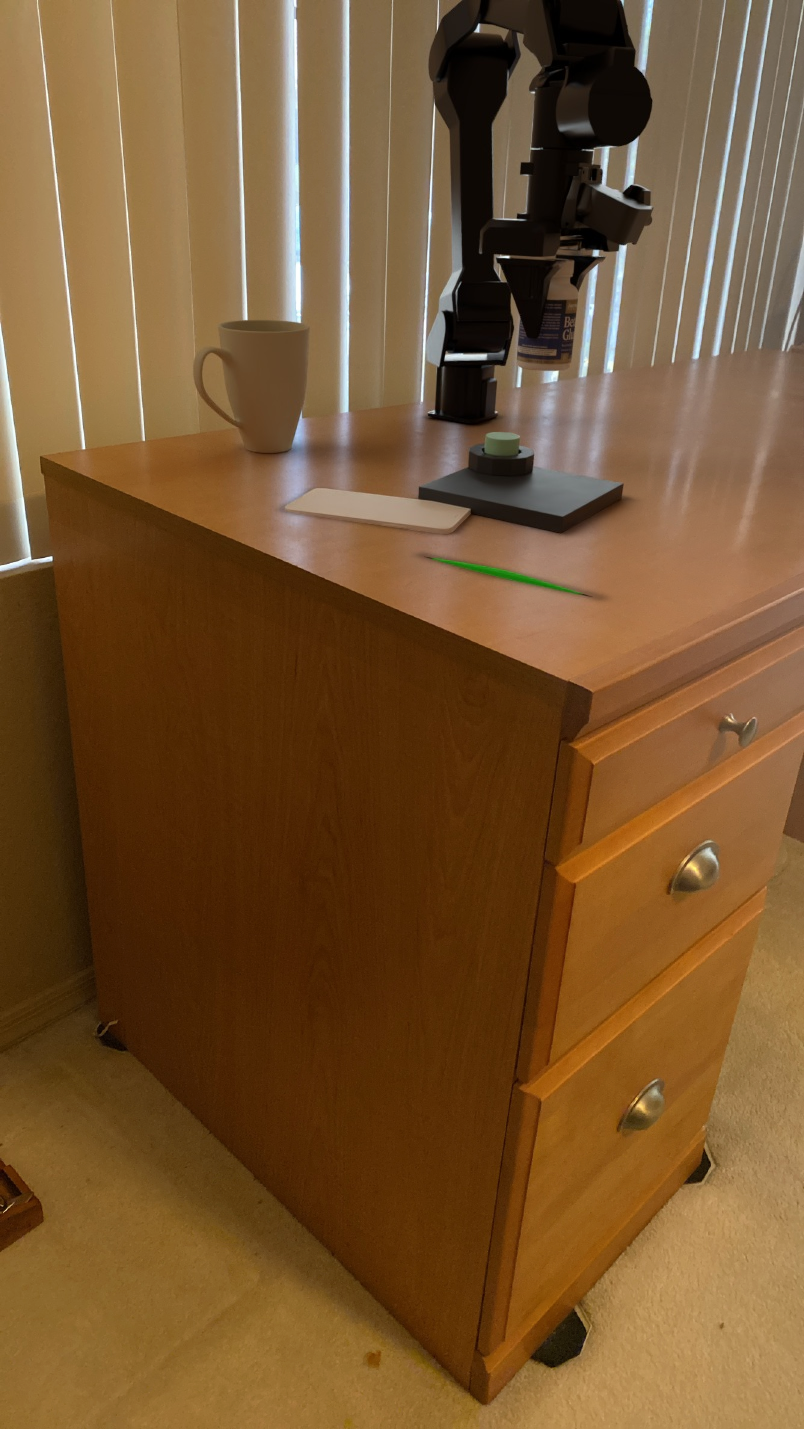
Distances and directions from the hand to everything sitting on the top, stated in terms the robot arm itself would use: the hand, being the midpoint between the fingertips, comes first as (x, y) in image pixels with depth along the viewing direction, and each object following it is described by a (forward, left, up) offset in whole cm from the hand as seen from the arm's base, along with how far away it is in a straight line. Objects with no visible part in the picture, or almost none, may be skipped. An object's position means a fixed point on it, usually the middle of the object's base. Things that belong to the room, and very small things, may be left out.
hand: (545, 335), depth 95 cm
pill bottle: (0, 0, -3) cm, 3 cm away
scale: (+6, -13, -12) cm, 19 cm away
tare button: (+1, -9, -10) cm, 13 cm away
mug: (-24, -14, -12) cm, 31 cm away
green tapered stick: (+14, -31, -13) cm, 37 cm away
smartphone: (-3, -24, -13) cm, 28 cm away
